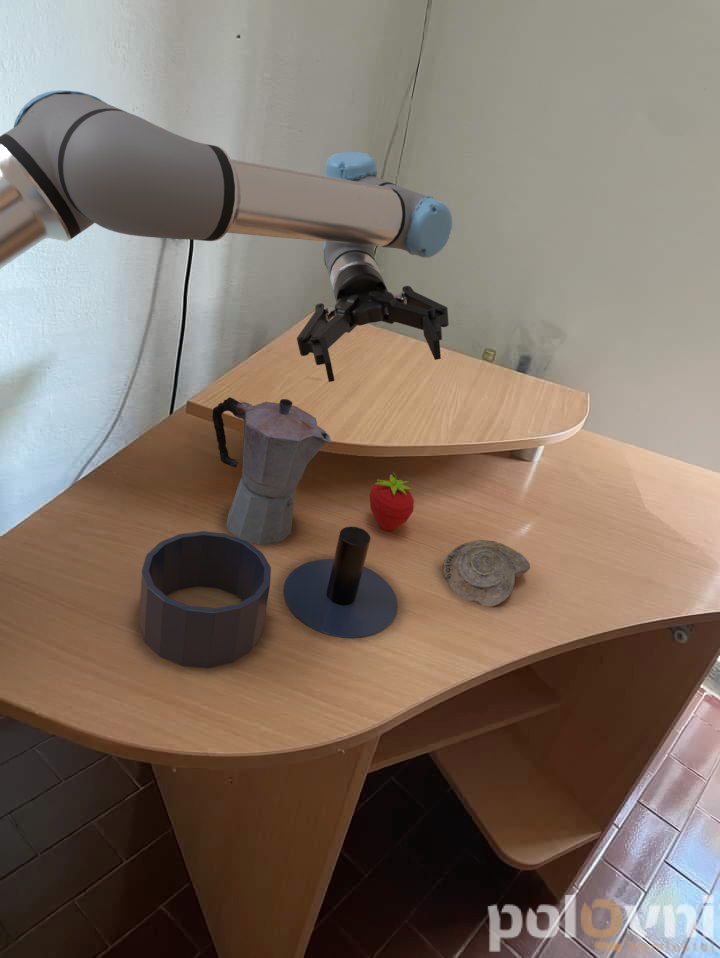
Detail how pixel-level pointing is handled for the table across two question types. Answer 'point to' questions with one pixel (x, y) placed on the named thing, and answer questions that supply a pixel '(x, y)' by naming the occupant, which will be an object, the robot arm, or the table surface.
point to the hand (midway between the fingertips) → (383, 361)
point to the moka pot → (268, 465)
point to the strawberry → (391, 503)
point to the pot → (199, 628)
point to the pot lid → (342, 591)
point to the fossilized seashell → (484, 571)
